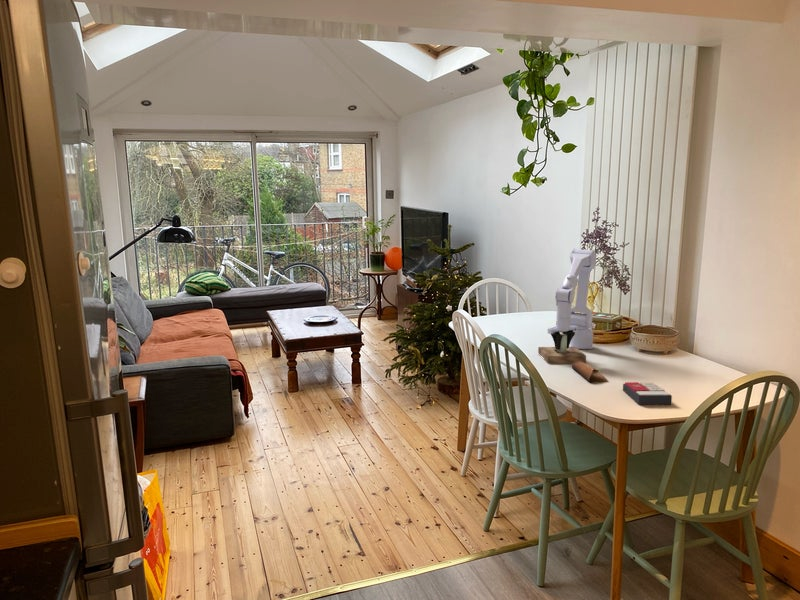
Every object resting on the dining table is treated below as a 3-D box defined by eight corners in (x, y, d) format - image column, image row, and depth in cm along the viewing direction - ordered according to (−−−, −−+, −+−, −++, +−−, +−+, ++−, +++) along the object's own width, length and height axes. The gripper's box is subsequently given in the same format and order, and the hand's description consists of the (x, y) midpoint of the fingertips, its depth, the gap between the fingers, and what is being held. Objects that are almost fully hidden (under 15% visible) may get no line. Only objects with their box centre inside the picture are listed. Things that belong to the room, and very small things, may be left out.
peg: (562, 352, 258) (562, 333, 257) (568, 354, 254) (569, 335, 253) (554, 353, 256) (555, 334, 255) (561, 355, 253) (561, 336, 251)
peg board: (574, 353, 263) (574, 346, 262) (585, 362, 249) (586, 355, 249) (538, 353, 262) (538, 347, 262) (547, 363, 248) (547, 356, 248)
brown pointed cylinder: (611, 382, 225) (603, 367, 223) (594, 392, 225) (587, 377, 224) (591, 367, 242) (584, 354, 241) (576, 376, 242) (569, 363, 241)
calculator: (653, 381, 216) (672, 393, 201) (652, 392, 217) (671, 406, 202) (622, 381, 216) (639, 393, 201) (622, 393, 217) (638, 406, 202)
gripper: (570, 313, 259) (569, 344, 261) (543, 316, 253) (542, 348, 255) (582, 316, 253) (580, 348, 255) (554, 320, 246) (552, 352, 249)
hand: (561, 348), depth 255 cm, fingers closed on peg, 4 cm apart
